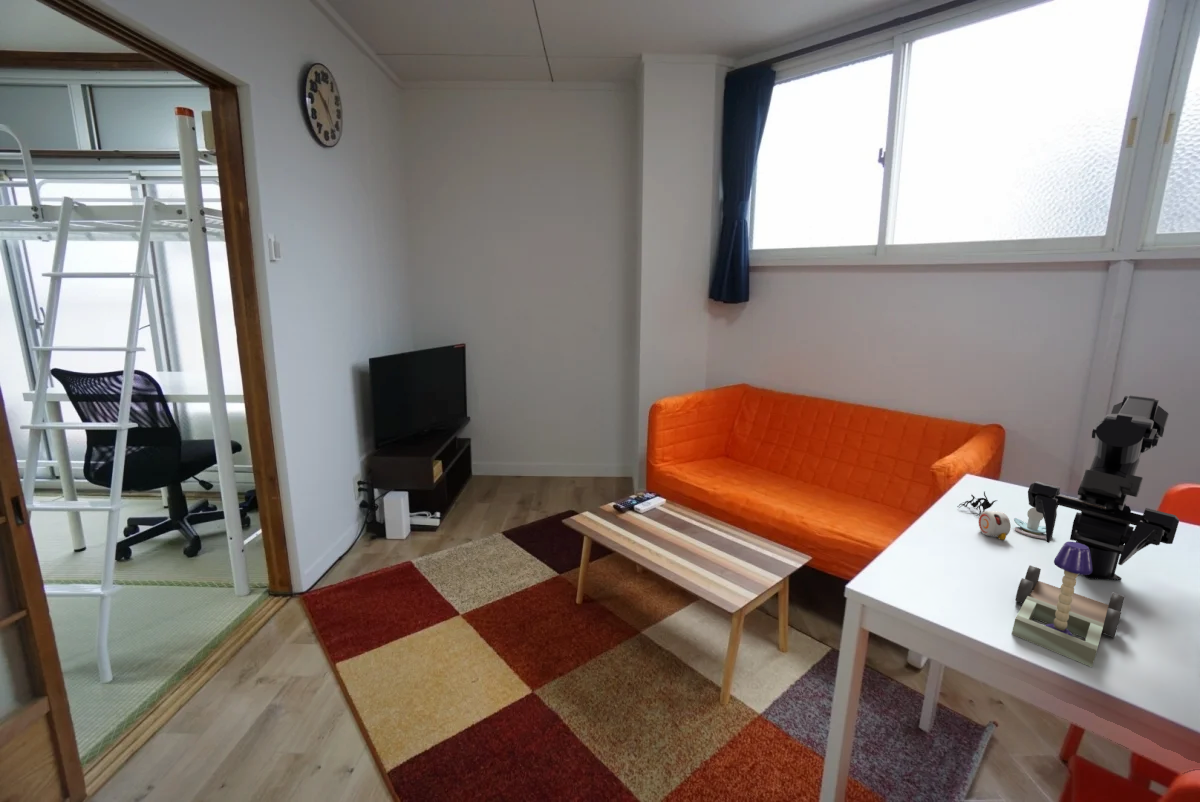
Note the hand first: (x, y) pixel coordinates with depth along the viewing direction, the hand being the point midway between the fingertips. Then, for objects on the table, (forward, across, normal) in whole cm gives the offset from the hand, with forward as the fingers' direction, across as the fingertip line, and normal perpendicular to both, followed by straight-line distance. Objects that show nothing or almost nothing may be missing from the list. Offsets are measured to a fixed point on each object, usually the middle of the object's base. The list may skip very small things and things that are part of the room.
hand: (1082, 552), depth 88 cm
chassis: (+10, 0, +8) cm, 13 cm away
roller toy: (-10, -18, +30) cm, 36 cm away
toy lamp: (+14, 0, +5) cm, 15 cm away
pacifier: (-17, -13, +36) cm, 42 cm away
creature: (-19, -25, +39) cm, 50 cm away
